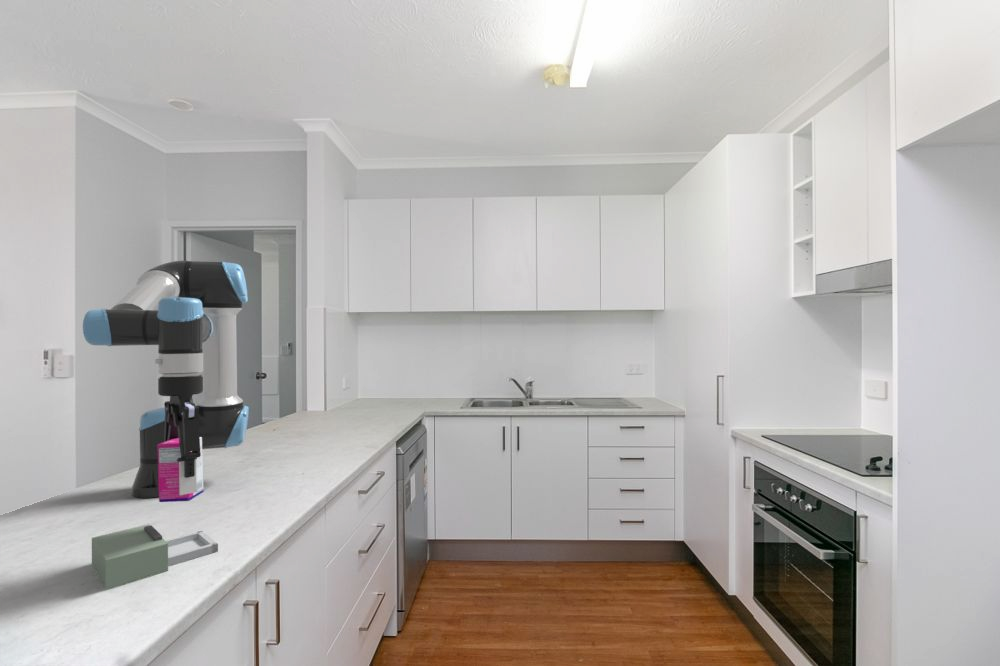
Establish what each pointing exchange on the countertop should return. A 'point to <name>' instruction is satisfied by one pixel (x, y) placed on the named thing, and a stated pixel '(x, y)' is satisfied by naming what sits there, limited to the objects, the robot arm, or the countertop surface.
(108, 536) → the sliding drawer box
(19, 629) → the countertop surface
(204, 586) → the countertop surface
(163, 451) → the supplement box
